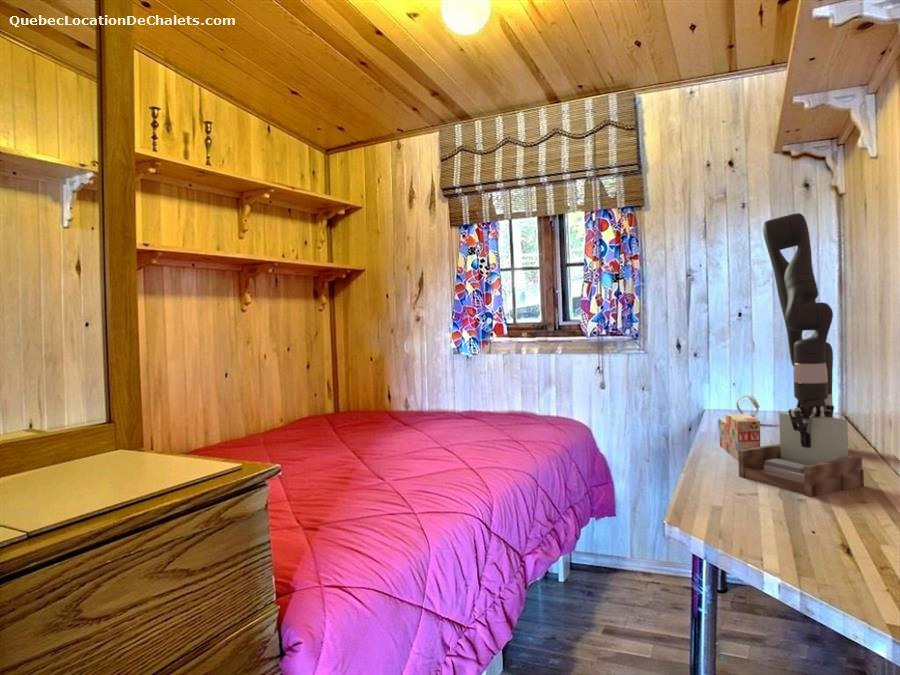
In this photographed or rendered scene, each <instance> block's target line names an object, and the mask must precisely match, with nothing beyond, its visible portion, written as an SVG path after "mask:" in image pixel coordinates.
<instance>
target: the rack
mask: <svg viewBox="0 0 900 675" xmlns="http://www.w3.org/2000/svg"><path fill="white" fill-rule="evenodd" d="M738 459H739V462H738V476H739V477H742V478H747V479H750V480H754V481H757V482H760V483H764V484H767V485H771V486H774V487H779V488H781V489H785V490H788V491H792V492H795V493H799V494H803V495H804V496H807V497H815V496H821V495H826V494H831V493H837V492H841V491H844V490H845V491H846V490H849V489H855V488H856V489H857V488H861V487H864V486H865V478H864V477H865V476H864V472H865V471H864V469H863V460H862V459H863V458H862V457H860V456H852V457H848V458H845V459H840V460H834V461H828V462H823V463H817V464H812V465H806V466H804V482H803V481H800V480H796V479H792V478H788V477H784V476H781V475H777V474H773V473H769V472H765V471H762V470H764V465H765V461H766V460H771V459H781V452H780V443H776V444H770V445H769V444H768V445H763V446H760V447H756V448H749V449H743V450H738ZM781 460H783V459H781ZM786 461H788V460H786ZM790 462H792V461H790ZM795 463H796V462H795ZM799 464H800V463H799ZM804 465H805V464H804ZM860 486H861V487H860Z"/></svg>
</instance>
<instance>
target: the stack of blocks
mask: <svg viewBox="0 0 900 675" xmlns="http://www.w3.org/2000/svg"><path fill="white" fill-rule="evenodd" d="M750 415H751V414H748V413H743V414H741V413H725V418H722V417H721V418H718V422H717V423H718V431H719V433H718V434H719V447H721V448H722V449H723V451H725V452H727V453H728V455H731V457H733V458H734V459H735V460H736V461H737V462H738V463H739V459H738V450H743V449H749V448H756V447H761V421H760V420H759V419H757V418H756V417H755V416H754V417H752V416H750Z"/></svg>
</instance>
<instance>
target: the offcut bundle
mask: <svg viewBox="0 0 900 675" xmlns="http://www.w3.org/2000/svg"><path fill="white" fill-rule="evenodd" d="M804 466H806V465H804V464H799V463H795V462H790V461H786V460H781V459H771V460H766V461H765V465H764V470H762V471H765V472H769V473H773V474H777V475H781V476H784V477H788V478H792V479H796V480H800V481H803V482H804Z"/></svg>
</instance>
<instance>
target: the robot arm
mask: <svg viewBox="0 0 900 675" xmlns="http://www.w3.org/2000/svg"><path fill="white" fill-rule="evenodd" d="M809 231H810V230H809V227H808V223H807V220H806V218H805V216H804V215H803V214H802V213H799V212H798V213H791V214H789V215H784V216H780V217H776V218H773V219H769V220H766V221H764V223H763V224H762V233H763V239H764V243H765V245H766V249H767V252H768V256H769V260H770V262H771V263H770V264H771V267H772V270H773V275H774V278H775V284H776V291H777V294H778V299H779V300H778V301H779V304H780V308H781V312H782V316H783V319H784V323H785V328H786V334H787V335H786V336H787V340H788V341H787V343H788V350H789V356H790V357H789V358H790V361H791V365H792V367H793V373H792V374H793V395H794V396H793V397H794V398H795V399H796V400H797V404H796V407H795V408H793V409H792V408H790V409H788V411H787V412H789V416H790V419H791V423H792V426H793V429H794V430H795V431H799V432H800V435H801V445H802V447H806V448H810V447H811V434H810V430H811V425H812V418H814V417H823V416H824V417H830V418H835V417H834V409H835V406H834V405H833V404H834V403H833V368H834V366H833V365H834V353H833V347H832V345H831V344H830V343H829V342H827V340H828V335H829V332H830V329H831V326H832V321H833V317H834V312H833V310H832V307H831V306H830V305H829V304H828V303H826V302H817V299H818V296H819V291H818V290H819V289H818V286H817V282H816V278H815V275H814V274H815V273H814V270H813V269H814V268H813V261H812V258H813V257H812V256H813V255H812V248H811V238H810V232H809ZM794 247H797V248H796V251H795V253H794V255H793V257H792V259H791V260H790V261H788V260H787V259H786V258H785V256H784V254H783V253H782V250H786V249H789V248H794ZM804 331H814V333H813V335H812V336H811V337H808V338H803V332H804ZM802 417H803V418H804V419H809V420H808V421H804V420H802ZM804 423H805V424H806V428H805V427H804ZM797 424H798V425H799V426H798V425H797Z"/></svg>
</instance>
